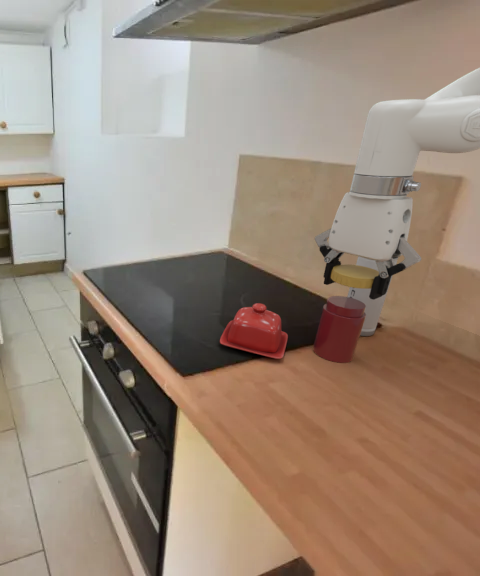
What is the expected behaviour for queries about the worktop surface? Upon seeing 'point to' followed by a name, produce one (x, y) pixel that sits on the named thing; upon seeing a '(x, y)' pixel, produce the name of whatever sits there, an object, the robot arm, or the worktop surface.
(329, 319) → the jam jar
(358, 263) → the travel mug
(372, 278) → the lid
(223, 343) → the butter dish
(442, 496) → the worktop surface
